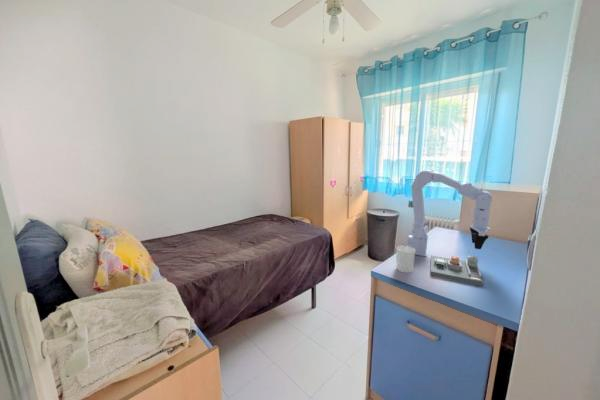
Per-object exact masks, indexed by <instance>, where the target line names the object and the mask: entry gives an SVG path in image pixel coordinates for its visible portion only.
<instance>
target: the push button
mask: <svg viewBox="0 0 600 400" xmlns="http://www.w3.org/2000/svg"><path fill="white" fill-rule="evenodd" d="M450 259H451V264H454V265H458V264H459V260H460V258H459V256H455V255H452V256H451V258H450Z"/></svg>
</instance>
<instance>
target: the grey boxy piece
mask: <svg viewBox="0 0 600 400" xmlns="http://www.w3.org/2000/svg"><path fill="white" fill-rule="evenodd" d="M466 260H467V264H468V266H469V267H471V268H475V267H476V266H477V265H478V264H479V263H478V262H479V257H478V256H477V257H476V256H472V255H468V256H467V259H466Z"/></svg>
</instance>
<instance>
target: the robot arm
mask: <svg viewBox="0 0 600 400" xmlns="http://www.w3.org/2000/svg"><path fill="white" fill-rule="evenodd" d="M431 182H432V183H441V184H444V185H446V186H449V187H451V188H453V189H455V190H457V193H458V194H460V195H461V196H463V197H465V198H467V199H470V200H471V201H472V200H473V201H474V202H475V206H474V208H473V209H474V210H473V215H472V222H471V225H470V227H469V230H470V233H471V234H470V235H471V243H473V244H474V250H475V249H476V250H481V249H482V248H483V245H484V244H485V242H486V241H487V240H488V238H489V235H487V234H486V232H487V231H491V228H490V227H488V225H489V219H490V213H491V212H490V211H491V203H492V201H493V195H492V194H491V192H490V191H488V190H485V189H484V188H482V187H481V188H479V187H477V186H474V185H473V183H472V182H459V181H458V180H455V179H453V178H451V177H450V176H447V175H446V174H444V173H441V172H439V171H436V170H433V169H431V168H429V169H426V170H422V171H420V172H419V173H417V174H416V176H415V178H414V181H413V182H412V183H411V187H410V188H411V196H412V197H411V198H412V208H413V217H414V218H413V219H414V221H413V224H412V225H413V228H412V230H411V234H412V235H410V234H408V236H407V237H408V238H407V245H406V246H409V247H412V248H414V249H415V256H416V255H417V256H422V257H427V256H428V250H427V249H428V240H429V239H428V237H429V236H428V235H427V234H428V233H429V231H430V226H429V225H428V221H427V219H426V214H425V204H424V193H423V188H425V186H427V184H429V183H431Z"/></svg>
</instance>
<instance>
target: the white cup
mask: <svg viewBox="0 0 600 400" xmlns="http://www.w3.org/2000/svg"><path fill="white" fill-rule="evenodd" d="M415 256H416V255H415V249H414V248H412V247H409V246H407V245H398V246H397V247H396V256H395V257H396V260H395V261H396V267H395V268H396V270H398V271H399V272H401V273H406V274H408V273H412V272H413V267H414V262H415Z"/></svg>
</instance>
